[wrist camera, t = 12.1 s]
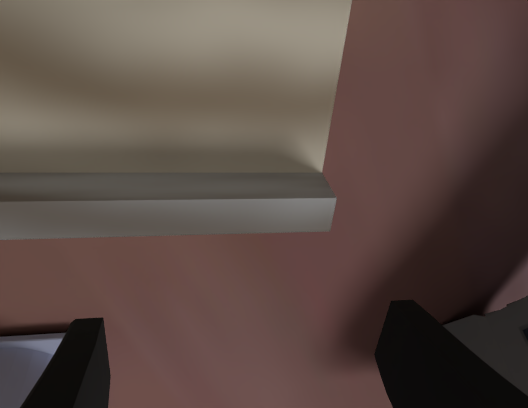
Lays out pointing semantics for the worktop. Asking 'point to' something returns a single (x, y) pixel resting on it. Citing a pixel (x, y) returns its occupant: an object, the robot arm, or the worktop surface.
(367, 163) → the worktop surface
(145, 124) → the board
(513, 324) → the gun
